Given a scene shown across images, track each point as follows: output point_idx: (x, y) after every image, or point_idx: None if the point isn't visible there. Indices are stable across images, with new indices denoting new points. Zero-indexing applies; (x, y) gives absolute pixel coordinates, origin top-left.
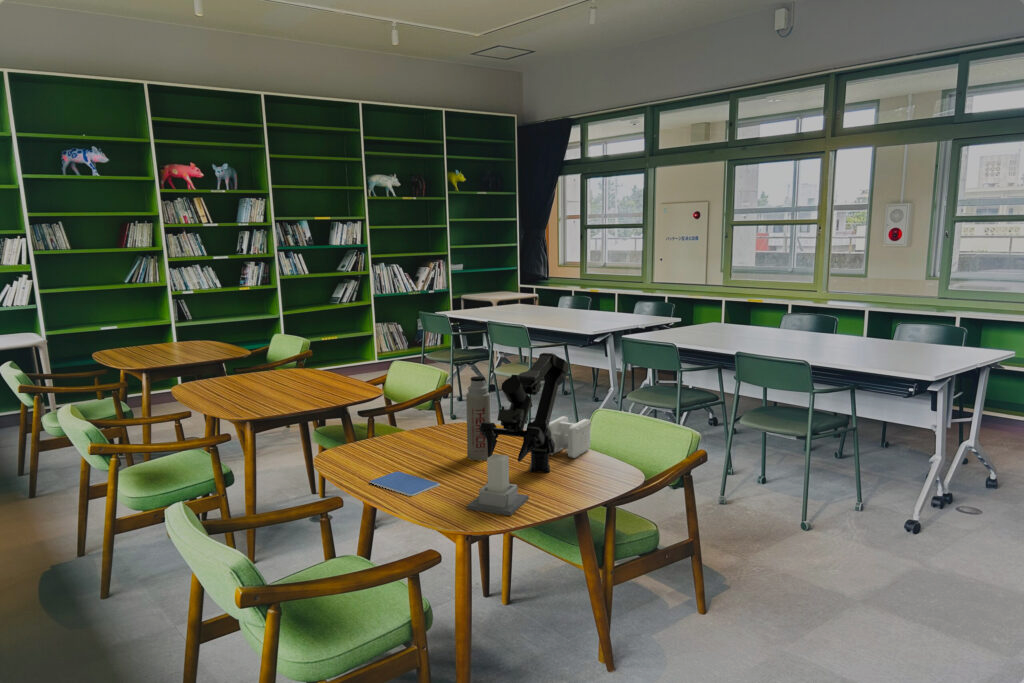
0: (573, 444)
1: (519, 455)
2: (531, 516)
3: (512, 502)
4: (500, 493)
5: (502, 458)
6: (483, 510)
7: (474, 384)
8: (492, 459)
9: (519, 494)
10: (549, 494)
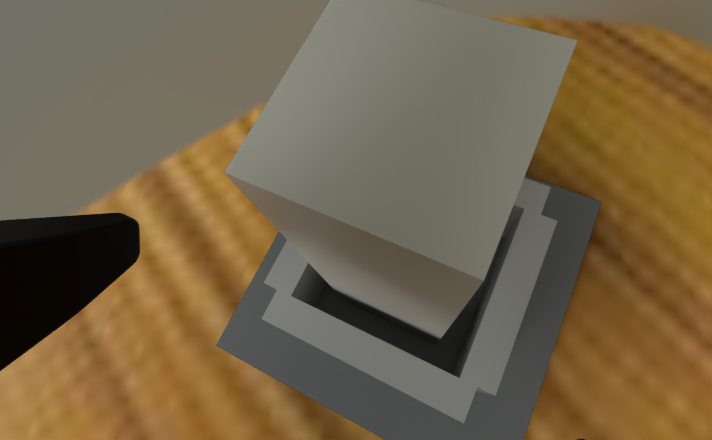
0: None
1: (61, 229)
2: (251, 127)
3: None
4: None
5: (333, 49)
6: None
7: None
8: (484, 21)
9: (270, 367)
10: (89, 430)
